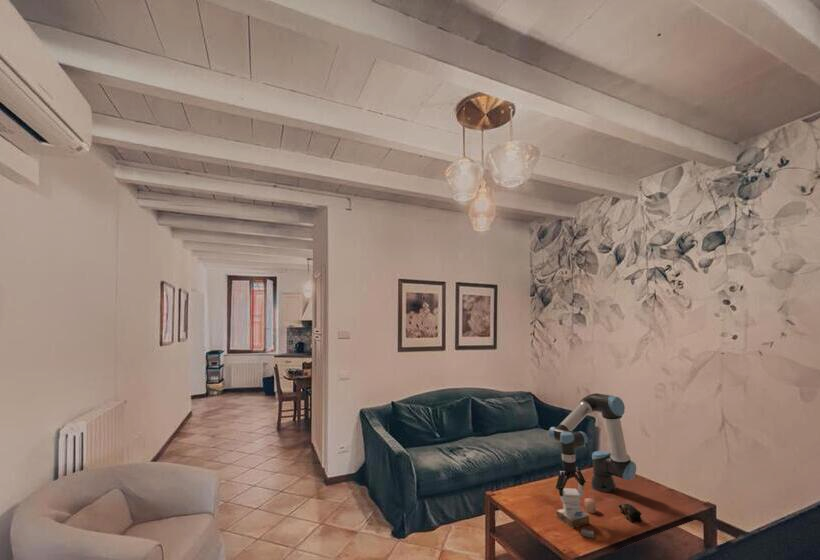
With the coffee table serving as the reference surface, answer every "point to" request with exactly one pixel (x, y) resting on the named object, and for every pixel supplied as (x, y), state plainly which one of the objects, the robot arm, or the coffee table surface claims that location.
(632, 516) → the sculpture
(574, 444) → the robot arm
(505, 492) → the coffee table surface
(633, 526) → the coffee table surface
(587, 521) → the plinth
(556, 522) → the coffee table surface
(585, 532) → the gray rectangular block
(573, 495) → the ink box
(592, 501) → the tan rounded cylinder
